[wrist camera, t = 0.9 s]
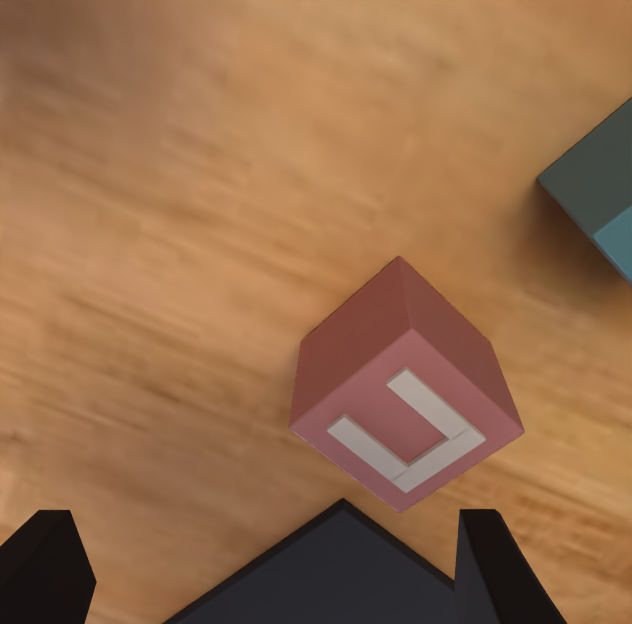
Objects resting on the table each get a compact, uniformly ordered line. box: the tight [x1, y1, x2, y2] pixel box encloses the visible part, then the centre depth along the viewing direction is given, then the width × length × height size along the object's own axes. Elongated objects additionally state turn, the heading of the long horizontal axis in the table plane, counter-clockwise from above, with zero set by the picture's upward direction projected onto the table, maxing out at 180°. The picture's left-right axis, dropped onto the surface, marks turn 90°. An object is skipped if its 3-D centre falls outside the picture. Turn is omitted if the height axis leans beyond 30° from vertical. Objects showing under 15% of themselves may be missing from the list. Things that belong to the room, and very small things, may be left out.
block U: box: [288, 256, 525, 513], centre depth 18 cm, size 5×5×5 cm
